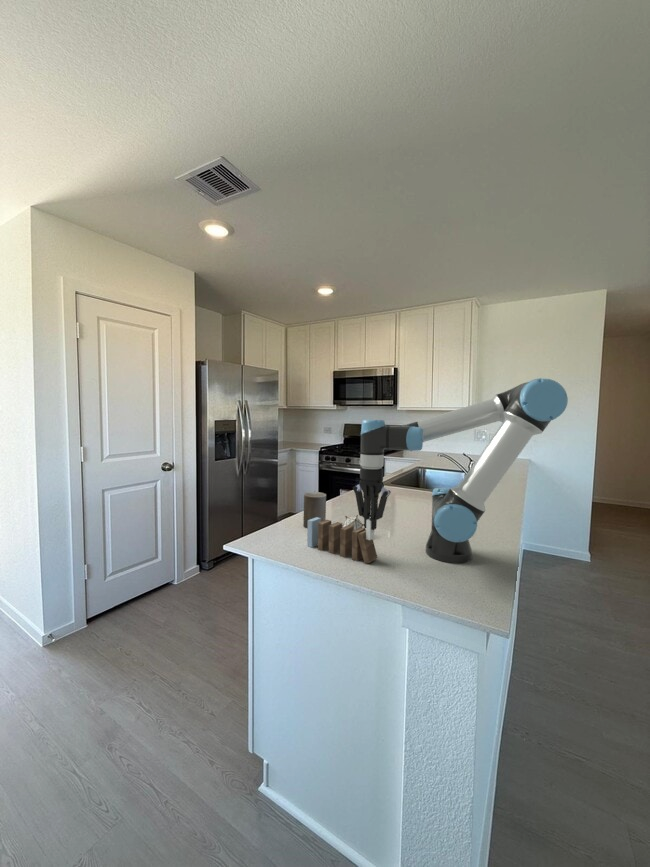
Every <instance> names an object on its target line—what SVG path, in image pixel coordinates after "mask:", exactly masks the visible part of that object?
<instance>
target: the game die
mask: <svg viewBox="0 0 650 867" xmlns="http://www.w3.org/2000/svg"><path fill="white" fill-rule="evenodd" d="M358 515H359V514H357V515H356V516H352V517H351V516H349V517H348V516H347V515H344V516H345V521H344V523H343V524H342V528H343V527H345V526H347V525H352V526H354V530H355V529H358V528H360V527H361V528H364V523H362V522H361V521H360V519H359V517H358Z"/></svg>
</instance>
